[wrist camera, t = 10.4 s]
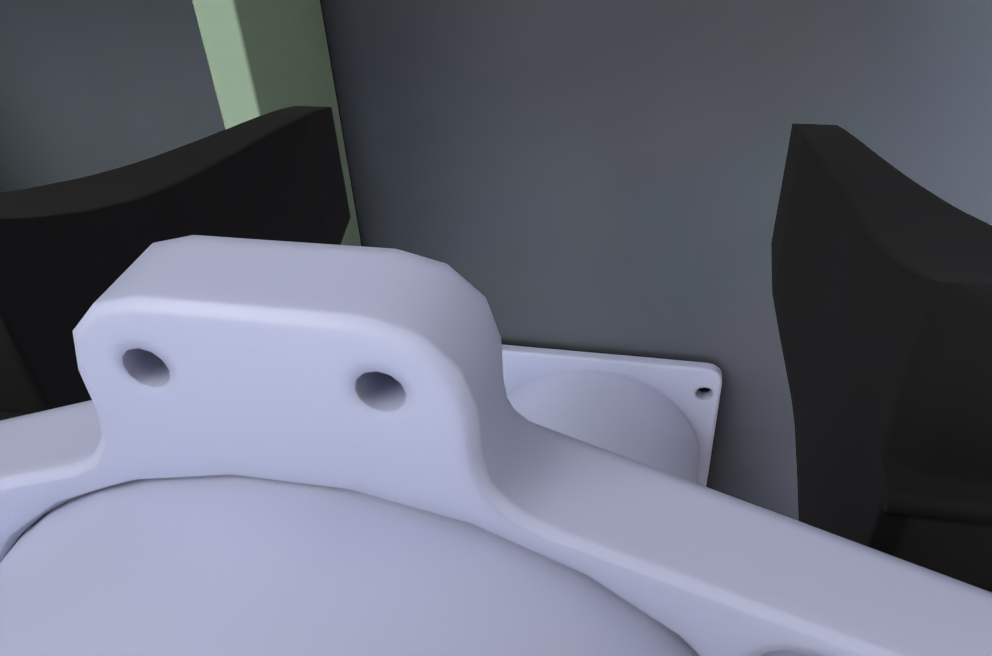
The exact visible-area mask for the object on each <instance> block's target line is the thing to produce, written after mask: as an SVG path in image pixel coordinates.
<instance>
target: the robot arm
mask: <svg viewBox="0 0 992 656" xmlns="http://www.w3.org/2000/svg"><path fill="white" fill-rule="evenodd" d="M350 218H351V216H350V211H349V205H348V199H347V193H346V188H345V182H344V176H343V170H342V165H341V159H340V153H339V147H338V142H337V136H336V130H335V125H334V119H333V113H332V107H317V106H293V107H287V108H283V109H279V110H276V111H273V112H270V113H267V114H264V115H261V116H259V117H256V118H253V119H251V120H248V121H246V122H243V123H241V124H238V125H236V126H233V127H231V128H228V129H226V130H223V131H221V132H218V133H216V134H213V135H211V136H208V137H206V138H203V139H201V140H198V141H195V142H193V143H190V144H187V145H185V146H182V147H179V148H176V149H174V150H171V151H168V152H166V153H163V154H160V155H157V156H155V157H152V158H149V159H146V160H143V161H140V162H137V163H134V164H131V165H127V166H124V167H121V168H117V169H113V170H110V171H106V172H102V173H99V174H95V175H91V176H87V177H83V178H79V179H74V180H69V181H64V182H59V183H54V184H49V185H43V186H38V187H33V188H28V189H23V190H17V191H11V192H4V193H0V656H992V226H991V225H989V224H987V223H985V222H983V221H981V220H979V219H977V218H975V217H973V216H971V215H969V214H967V213H965V212H963V211H961V210H959V209H957V208H956V207H954V206H952V205H950V204H949V203H947V202H945V201H944V200H942V199H940V198H939V197H937V196H936V195H934V194H932V193H931V192H929V191H928V190H926V189H924V188H923V187H921V186H920V185H918V184H917V183H915V182H914V181H912V180H911V179H910V178H908V177H907V176H905V175H904V174H902V173H901V172H900V171H898V170H897V169H896V168H894V167H893V166H892V165H890V164H889V163H888V162H886V161H885V160H884V159H882V158H881V157H880V156H878V155H877V154H876V153H875V152H873V151H872V150H871V149H869V148H868V147H867V146H866V145H864V144H863V143H862V142H860V141H859V140H858V139H857V138H855V137H854V136H853V135H851V134H850V133H849V132H847V131H846V130H844V129H843V128H841V127H839V126H837V125H817V124H793V125H792V130H791V136H790V142H789V147H788V153H787V159H786V164H785V170H784V176H783V181H782V187H781V193H780V198H779V204H778V210H777V215H776V221H775V227H774V232H773V238H772V290H773V299H774V305H775V311H776V317H777V322H778V328H779V334H780V339H781V344H782V350H783V355H784V361H785V366H786V372H787V377H788V383H789V388H790V393H791V399H792V406H793V414H794V422H795V438H796V458H797V479H798V508H799V521H797V520H795V519H792V518H789V517H786V516H784V515H781V514H778V513H776V512H773V511H770V510H768V509H765V508H762V507H759V506H757V505H754V504H751V503H749V502H746V501H743V500H740V499H738V498H735V497H732V496H730V495H727V494H724V493H722V492H719V491H716V490H713V489H711V488H708V487H706V485H707V478H708V471H709V465H710V458H711V452H712V445H713V439H714V432H715V426H716V419H717V413H718V406H719V400H720V393H721V386H722V372H721V370H720V369H719V367H717V366H716V365H714V364H711V363H706V362H695V361H683V360H672V359H661V358H649V357H638V356H627V355H615V354H604V353H593V352H581V351H570V350H559V349H547V348H536V347H525V346H514V345H502V344H501V336H500V334H499V331H498V328H497V326H496V323H495V320H494V318H493V315H492V312H491V310H490V307H489V304H488V302H487V299H486V297H485V296H484V295H483V294H481V293H480V292H479V291H478V290H477V289H476V288H475V287H473V286H472V285H471V284H470V283H469V282H468V281H466V280H465V279H464V278H463V277H462V276H461V275H460V274H458V273H457V272H456V271H455V270H454V269H453V268H451V267H450V266H449V265H448V264H446V263H443V262H439V261H436V260H433V259H429V258H426V257H423V256H419V255H416V254H412V253H409V252H406V251H402V250H399V249H392V248H378V247H363V246H348V245H340V244H341V242H342V239H343V237H344V234H345V231H346V229H347V226H348V223H349V220H350ZM704 387H705V388H709V389H710V390H709V391H707V392H702V391H699V390H698V389H699V388H704Z"/></svg>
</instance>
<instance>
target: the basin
mask: <svg viewBox="0 0 992 656" xmlns="http://www.w3.org/2000/svg"><path fill="white" fill-rule="evenodd" d="M192 2H193V6H194V10H195V14H196V18H197V21H198V25H199V29H200V33H201V37H202V41H203V45H204V49H205V52H206V56H207V60H208V64H209V68H210V72H211V76H212V79H213V83H214V87H215V91H216V95H217V99H218V103H219V107H220V110H221V114H222V118H223V122H224V126H225V130H226V129H228V128H231V127H233V126H236V125H238V124H241V123H243V122H246V121H248V120H251V119H253V118H256V117H259V116H261V115H264V114H267V113H270V112H273V111H276V110H279V109H283V108H287V107H293V106H317V107H332V113H333V119H334V125H335V130H336V136H337V142H338V147H339V153H340V159H341V165H342V170H343V176H344V182H345V188H346V193H347V199H348V205H349V211H350V216H351V218H350V220H349V223H348V226H347V229H346V231H345V234H344V237H343V239H342V242H341V244H340V245H348V246H361V241H360V235H359V229H358V223H357V217H356V211H355V205H354V199H353V193H352V187H351V181H350V176H349V170H348V164H347V158H346V152H345V146H344V140H343V134H342V128H341V122H340V116H339V111H338V105H337V99H336V93H335V87H334V81H333V75H332V69H331V63H330V57H329V51H328V46H327V40H326V34H325V28H324V22H323V16H322V10H321V4H320V0H192Z"/></svg>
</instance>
